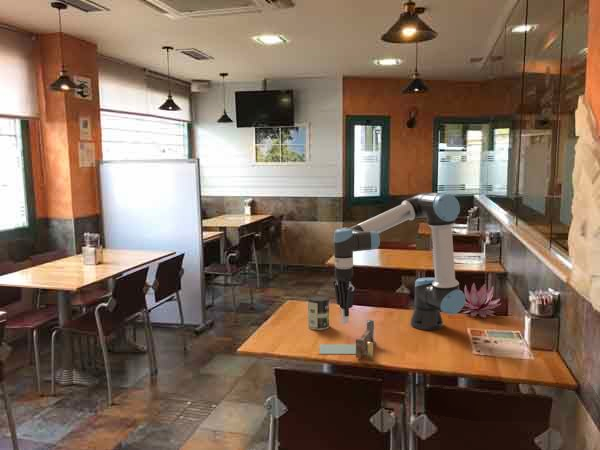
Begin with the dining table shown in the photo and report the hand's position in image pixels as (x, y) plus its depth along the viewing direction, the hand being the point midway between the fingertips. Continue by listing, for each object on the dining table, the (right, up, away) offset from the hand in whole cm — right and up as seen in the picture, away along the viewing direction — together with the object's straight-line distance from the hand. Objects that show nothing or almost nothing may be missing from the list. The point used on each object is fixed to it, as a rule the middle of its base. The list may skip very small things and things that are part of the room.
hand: (345, 323), depth 195 cm
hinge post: (+12, -11, +10) cm, 19 cm away
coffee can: (-10, -9, +32) cm, 35 cm away
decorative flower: (+73, -6, +48) cm, 87 cm away
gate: (+8, -11, 0) cm, 14 cm away
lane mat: (0, -12, +3) cm, 12 cm away
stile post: (+9, -13, -7) cm, 17 cm away
